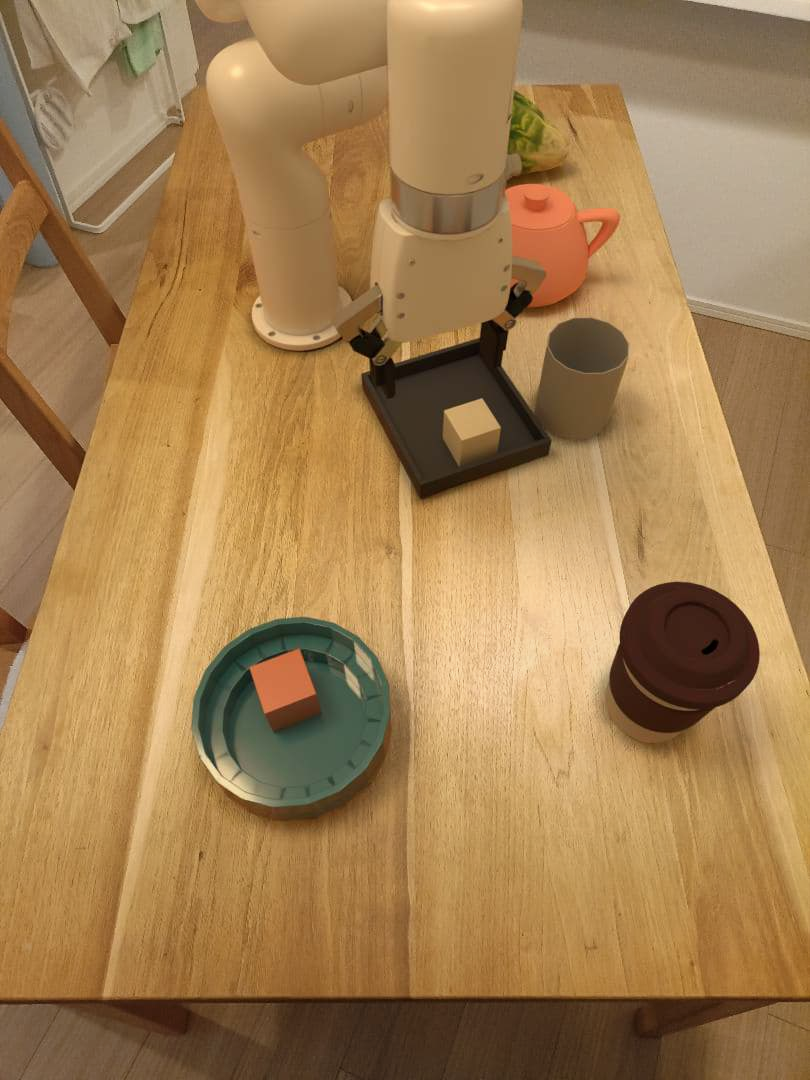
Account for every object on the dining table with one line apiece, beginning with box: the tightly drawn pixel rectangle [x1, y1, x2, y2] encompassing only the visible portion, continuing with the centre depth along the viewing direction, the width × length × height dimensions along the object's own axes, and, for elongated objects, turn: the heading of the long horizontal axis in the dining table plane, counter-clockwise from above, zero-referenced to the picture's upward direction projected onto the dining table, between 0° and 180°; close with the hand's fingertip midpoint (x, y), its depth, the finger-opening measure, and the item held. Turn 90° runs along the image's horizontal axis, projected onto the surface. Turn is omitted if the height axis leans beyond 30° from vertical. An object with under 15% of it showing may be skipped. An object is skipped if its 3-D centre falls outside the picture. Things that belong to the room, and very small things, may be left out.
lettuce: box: [507, 89, 570, 178], centre depth 108 cm, size 14×23×13 cm, turn 81°
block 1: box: [249, 649, 322, 732], centre depth 66 cm, size 4×4×4 cm
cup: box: [533, 316, 630, 441], centre depth 83 cm, size 8×8×10 cm
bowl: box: [190, 616, 393, 822], centre depth 65 cm, size 16×16×5 cm
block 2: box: [443, 398, 501, 467], centre depth 82 cm, size 4×4×4 cm
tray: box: [360, 337, 553, 500], centre depth 85 cm, size 17×15×2 cm
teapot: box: [505, 183, 621, 308], centre depth 94 cm, size 22×15×12 cm
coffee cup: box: [604, 581, 761, 744], centre depth 62 cm, size 10×10×15 cm
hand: (438, 371), depth 66 cm, fingers open, 9 cm apart
